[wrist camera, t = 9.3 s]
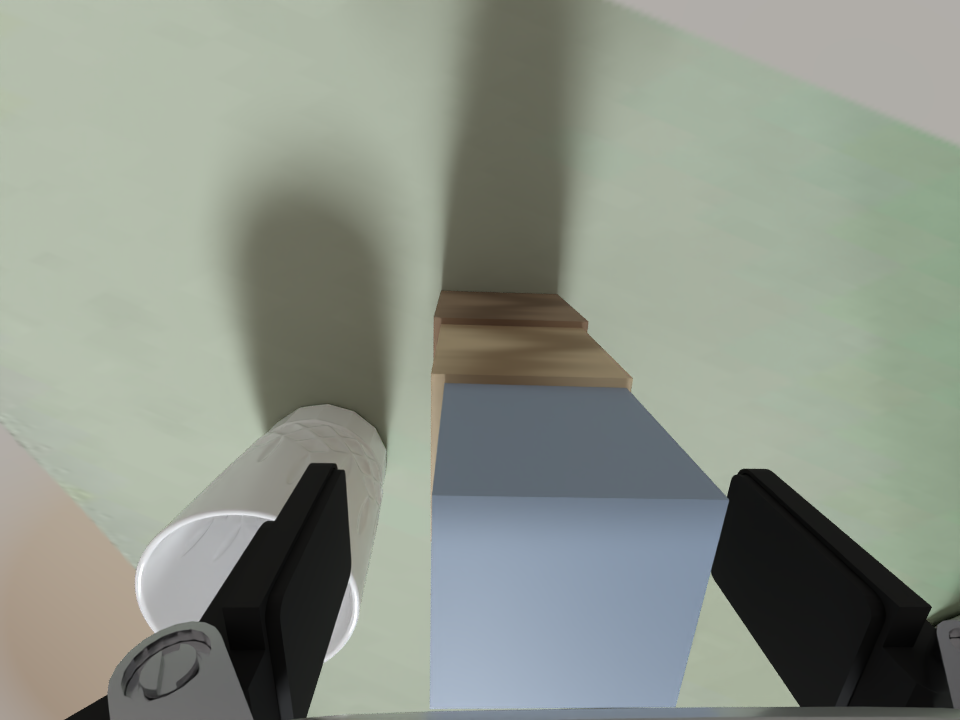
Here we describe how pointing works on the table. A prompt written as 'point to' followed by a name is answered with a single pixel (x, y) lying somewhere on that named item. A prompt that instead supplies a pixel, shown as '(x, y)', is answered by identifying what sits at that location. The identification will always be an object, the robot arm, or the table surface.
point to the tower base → (504, 310)
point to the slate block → (564, 550)
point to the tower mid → (517, 362)
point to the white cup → (264, 516)
